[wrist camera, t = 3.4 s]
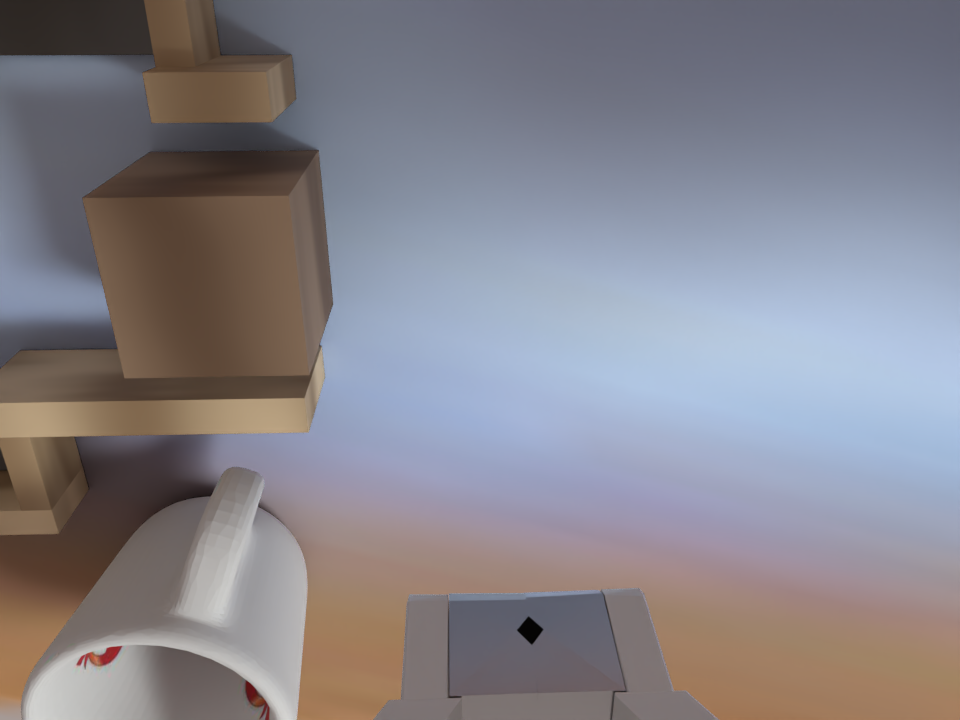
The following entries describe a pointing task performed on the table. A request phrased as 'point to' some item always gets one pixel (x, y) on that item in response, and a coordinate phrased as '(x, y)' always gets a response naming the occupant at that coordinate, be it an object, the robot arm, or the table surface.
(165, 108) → the wooden flat frame
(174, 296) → the block
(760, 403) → the table surface
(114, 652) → the cup
